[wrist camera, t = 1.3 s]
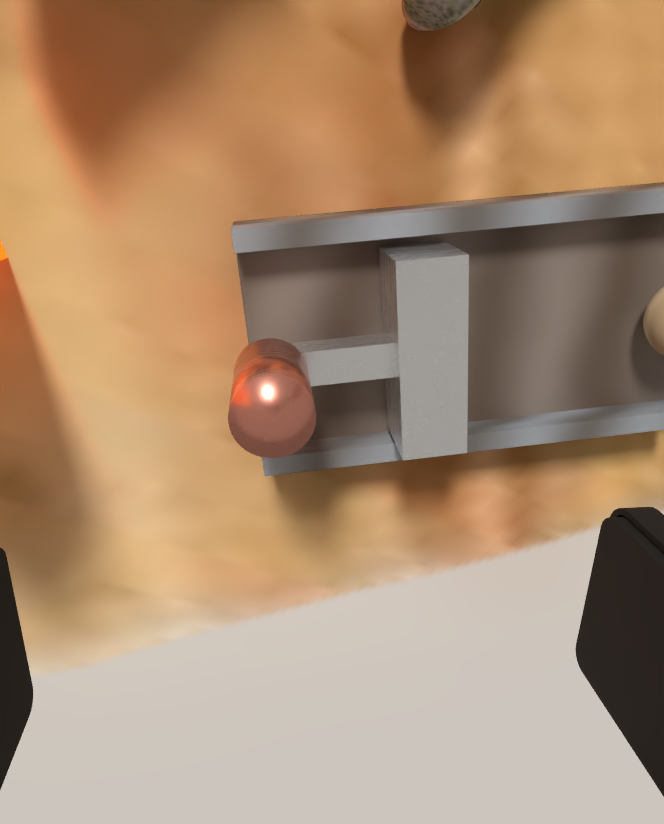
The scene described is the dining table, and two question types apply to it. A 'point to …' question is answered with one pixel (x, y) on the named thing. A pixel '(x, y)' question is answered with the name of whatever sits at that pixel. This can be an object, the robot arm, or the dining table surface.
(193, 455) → the dining table surface
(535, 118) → the dining table surface
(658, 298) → the nut press
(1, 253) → the orange juice
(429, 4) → the decorative bird
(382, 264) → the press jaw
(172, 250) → the dining table surface
